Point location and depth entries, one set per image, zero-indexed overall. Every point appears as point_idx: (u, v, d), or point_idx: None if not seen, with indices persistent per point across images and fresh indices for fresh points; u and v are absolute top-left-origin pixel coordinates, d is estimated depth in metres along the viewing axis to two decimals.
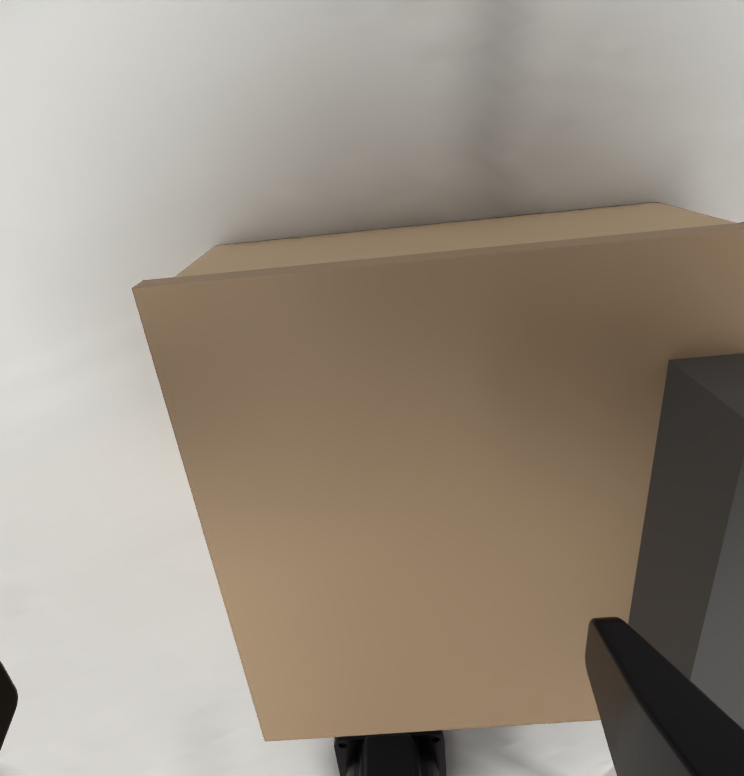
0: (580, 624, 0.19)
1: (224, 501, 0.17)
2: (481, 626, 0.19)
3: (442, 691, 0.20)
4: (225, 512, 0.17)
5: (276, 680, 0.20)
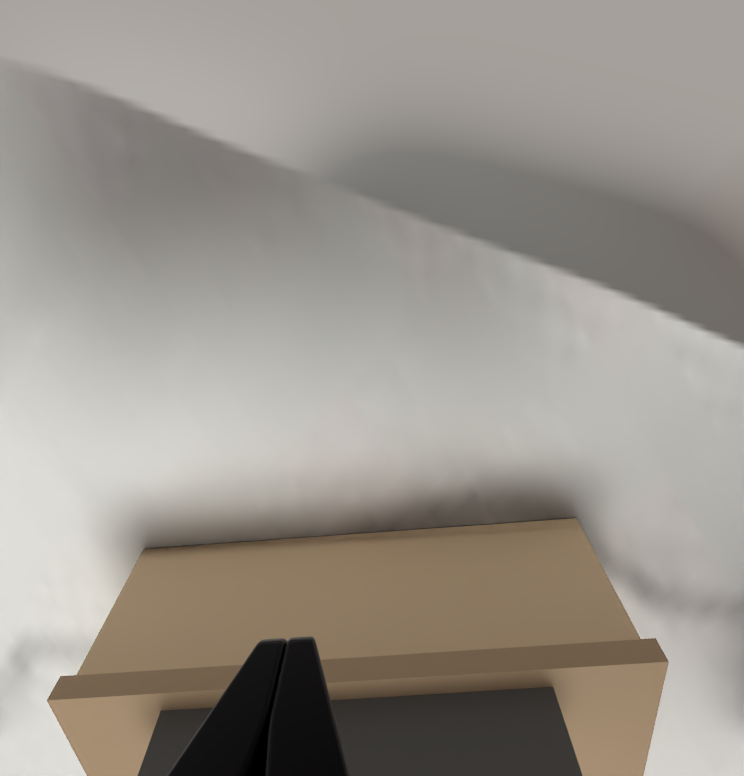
0: None
1: None
2: None
3: None
4: None
5: None
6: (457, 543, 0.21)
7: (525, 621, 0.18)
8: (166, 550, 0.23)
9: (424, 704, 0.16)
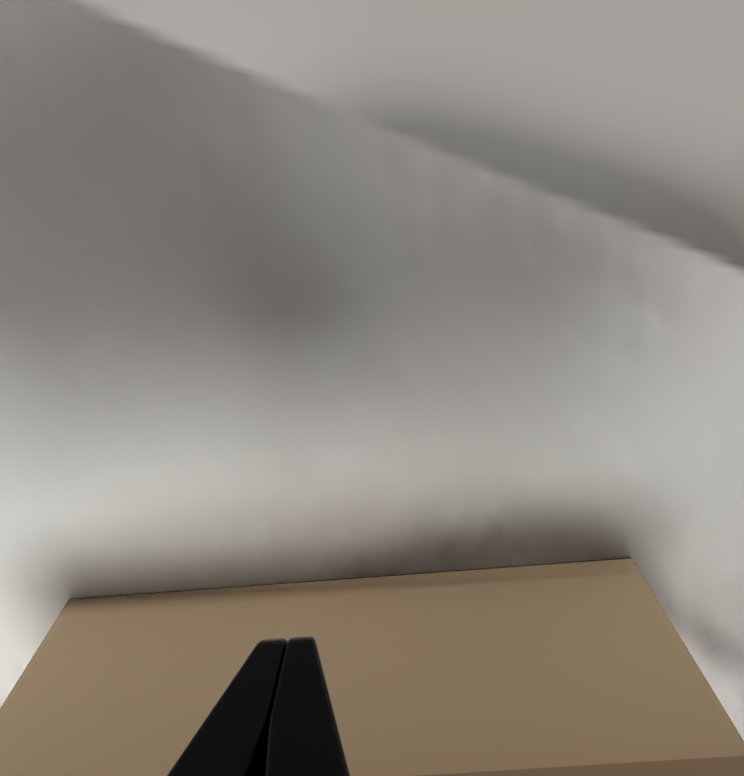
0: None
1: None
2: None
3: None
4: None
5: None
6: (477, 594, 0.16)
7: (579, 718, 0.13)
8: (98, 601, 0.17)
9: None
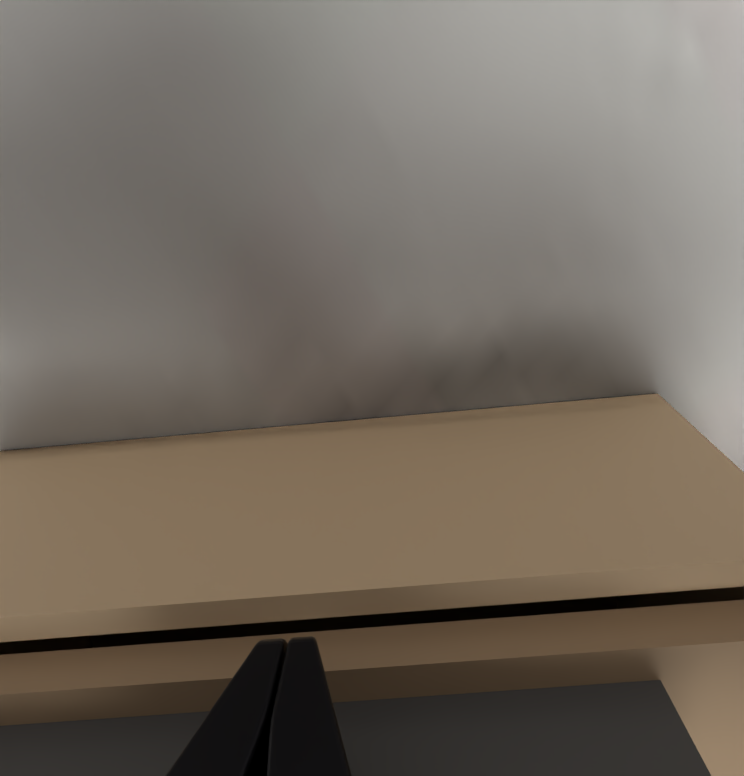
0: None
1: None
2: None
3: None
4: None
5: None
6: (475, 428, 0.14)
7: (602, 525, 0.10)
8: (32, 451, 0.15)
9: (429, 714, 0.09)
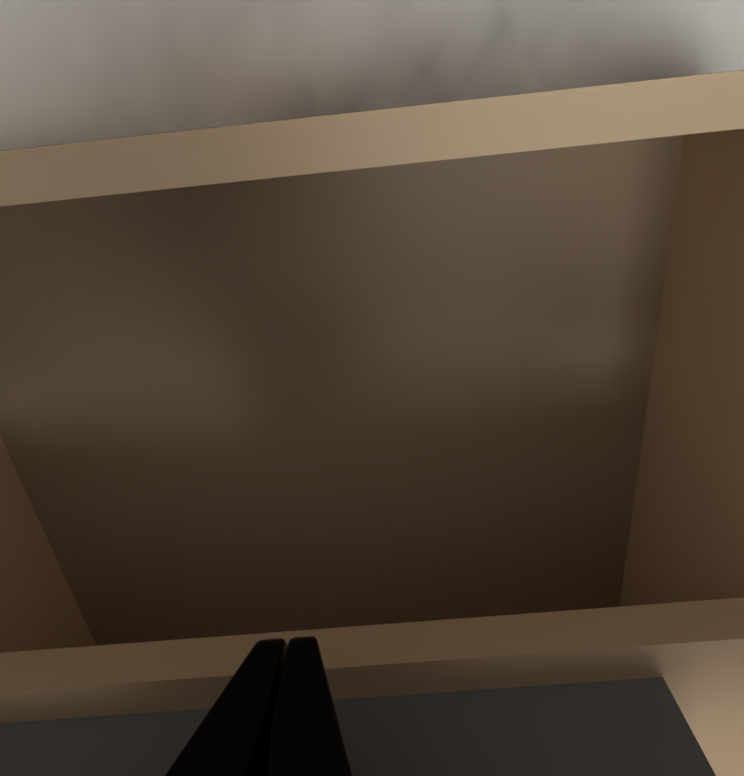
0: None
1: None
2: None
3: None
4: None
5: None
6: None
7: None
8: None
9: (431, 711, 0.09)
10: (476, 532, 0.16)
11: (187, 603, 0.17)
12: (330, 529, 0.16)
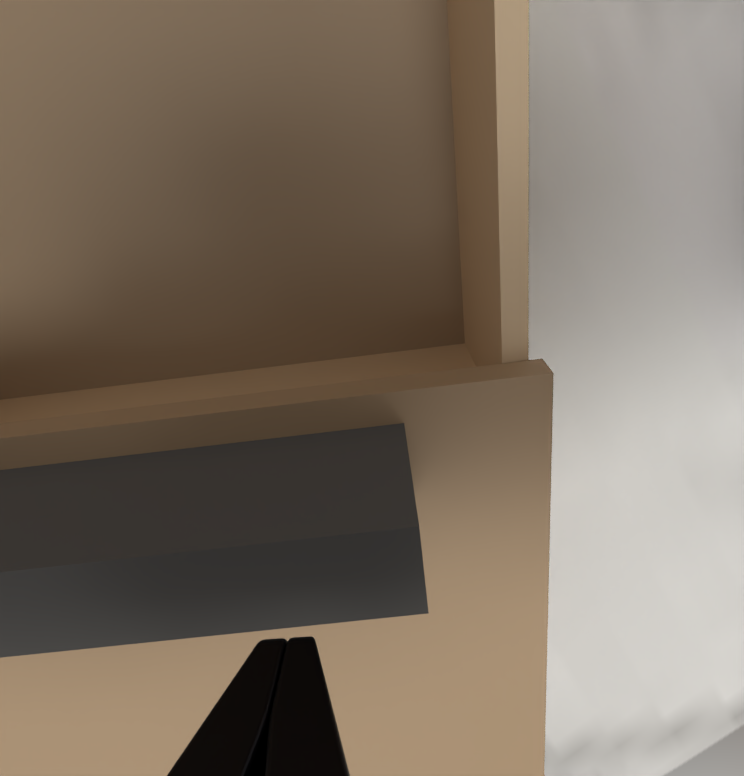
0: None
1: None
2: (344, 651, 0.15)
3: (466, 675, 0.16)
4: None
5: None
6: None
7: None
8: None
9: (229, 450, 0.12)
10: (310, 225, 0.16)
11: (44, 320, 0.17)
12: (168, 223, 0.16)
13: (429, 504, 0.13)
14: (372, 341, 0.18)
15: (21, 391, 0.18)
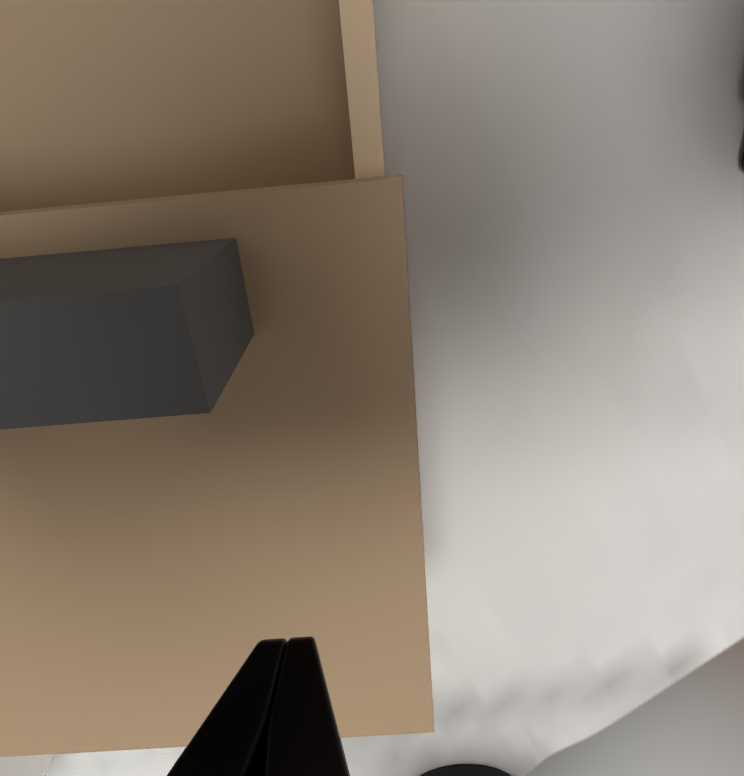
0: None
1: (62, 735, 0.17)
2: (198, 531, 0.14)
3: (337, 566, 0.14)
4: (75, 736, 0.17)
5: None
6: None
7: None
8: None
9: (31, 258, 0.10)
10: (187, 66, 0.15)
11: None
12: (29, 57, 0.15)
13: (275, 346, 0.12)
14: None
15: None
